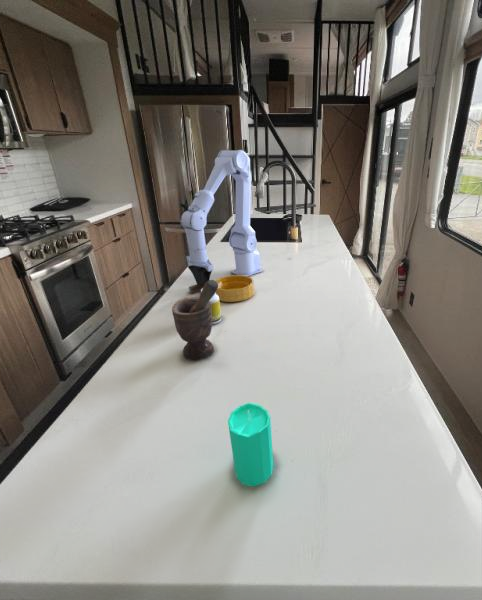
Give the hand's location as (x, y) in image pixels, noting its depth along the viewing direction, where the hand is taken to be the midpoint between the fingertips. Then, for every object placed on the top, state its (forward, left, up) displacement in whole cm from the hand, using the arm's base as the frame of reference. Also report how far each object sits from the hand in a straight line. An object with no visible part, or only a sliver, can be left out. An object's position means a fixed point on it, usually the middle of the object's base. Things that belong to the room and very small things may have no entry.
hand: (202, 285), depth 114 cm
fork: (-3, 0, -1) cm, 3 cm away
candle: (+31, +68, -2) cm, 75 cm away
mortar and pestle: (+20, +35, -2) cm, 40 cm away
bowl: (-5, +12, -1) cm, 13 cm away
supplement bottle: (+10, +22, -2) cm, 24 cm away
